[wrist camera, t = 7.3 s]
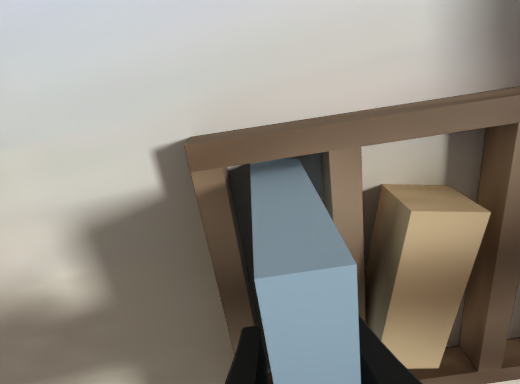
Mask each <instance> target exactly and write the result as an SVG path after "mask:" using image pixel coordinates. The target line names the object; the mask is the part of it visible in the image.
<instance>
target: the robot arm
mask: <svg viewBox="0 0 520 384" xmlns="http://www.w3.org/2000/svg"><path fill="white" fill-rule="evenodd" d="M358 316H359V344H360V372H361V384H423V383H422V382H420V381H419V380H418V379H417V378H416V377H415V376H414V375H413V374H412V373H411V372H410V371H409V370H408V369H407V368H406V367H405V366H404V365H403V364H402V363H401V362H400V361H399V360H398V359H397V358H396V357H395V356H394V354H393V353H392V352H391V351H390V350H389V349H388V348H387V347H386V346H385V345H384V344H383V343H382V341H381V340H380V339H379V338H378V337H377V336H376V334H375V333H374V332H373V331H372V330H371V329H370V327H369V326H368V325H367V324H366V322H365V321H364V320H363V318H362V317H361V316H360V314H359V313H358ZM225 384H269V383H268V372H267V362H266V357H265V352H264V347H263V341H262V336H261V331H260V326H259V325H257V326H250V327H244V328H243V329H242V330H241V334H240V338H239V342H238V346H237V350H236V353H235V356H234V359H233V362H232V365H231V368H230V371H229V373H228V376H227V379H226V382H225Z"/></svg>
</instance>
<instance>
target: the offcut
mask: <svg viewBox="0 0 520 384" xmlns="http://www.w3.org/2000/svg"><path fill="white" fill-rule="evenodd" d="M490 214H491V212H490V211H488V210H487V209H485V208H483V207H482V206H480V205H479V204H477V203H475V202H474V201H472V200H470V199H469V198H467V197H466V196H464V195H462V194H461V193H459V192H457V191H456V190H454V189H452V188H451V187H449V186H448V185H394V184H382V186H381V192H380V197H379V202H378V208H377V213H376V218H375V224H374V229H373V234H372V240H371V245H370V251H369V256H368V261H367V267H366V272H365V277H364V280H365V320H366V324H367V325H368V326H369V327H370V329H371V330H372V331H373V332H374V333H375V334H376V336H377V337H378V338H379V339H380V340H381V341H382V343H383V344H384V345H385V346H386V347H387V348H388V349H389V350H390V351H391V352H392V353H393V354H394V356H395V357H396V358H397V359H398V360H399V361H400V362H401V363H402V364H403V365H404V366H405V367H406V368H407V369H415V368H439V366H440V363H441V360H442V357H443V354H444V351H445V348H446V345H447V342H448V339H449V336H450V333H451V330H452V327H453V324H454V321H455V318H456V315H457V312H458V309H459V306H460V303H461V300H462V297H463V294H464V291H465V288H466V285H467V282H468V280H469V277H470V274H471V271H472V268H473V265H474V262H475V259H476V256H477V253H478V250H479V247H480V244H481V241H482V238H483V235H484V232H485V229H486V226H487V223H488V220H489V217H490Z"/></svg>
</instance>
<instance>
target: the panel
mask: <svg viewBox="0 0 520 384" xmlns="http://www.w3.org/2000/svg"><path fill="white" fill-rule="evenodd" d="M250 178H251V206H252V233H253V260H254V281H255V286H256V292H257V297H258V302H259V308H260V313H261V318H262V324H263V329H264V335H265V340H266V345H267V351H268V356H269V361H270V367H271V372H272V378H273V383H274V384H361V372H360V344H359V316H358V288H357V264H356V262H355V260H354V259H353V257H352V255H351V253H350V251H349V249H348V248H347V246H346V244H345V242H344V240H343V239H342V237H341V235H340V233H339V231H338V229H337V228H336V226H335V224H334V222H333V220H332V219H331V217H330V215H329V213H328V211H327V209H326V208H325V206H324V204H323V202H322V200H321V199H320V197H319V195H318V193H317V191H316V189H315V188H314V186H313V184H312V182H311V180H310V179H309V177H308V175H307V173H306V171H305V169H304V168H303V166H302V164H301V162H300V160H299V159H298V157H297V156H295V157H289V158H282V159H275V160H269V161H262V162H256V163H250Z"/></svg>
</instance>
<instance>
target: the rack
mask: <svg viewBox="0 0 520 384" xmlns="http://www.w3.org/2000/svg"><path fill="white" fill-rule="evenodd" d="M486 127H487V128H486ZM480 128H486V136H485V144H484V152H483V160H482V168H481V176H480V184H479V192H478V199H477V204H479V205H480V206H482V207H483V208H485V209H487V210H488V211H490V212H491V214H490V217H489V220H488V223H487V226H486V229H485V232H484V235H483V238H482V241H481V244H480V247H479V250H478V253H477V256H476V259H475V262H474V265H473V268H472V271H471V274H470V277H469V280H468V282H467V287H466V295H465V303H464V311H463V319H462V327H461V335H460V343H459V347H452V348H445V351H444V354H443V357H442V360H441V363H440V366H439V368H415V369H408V370H409V371H410V372H411V373H412V374H413V375H414V376H415V377H416V378H417V379H418V380H419V381H420V382H422V383H423V384H487V383H495V382H502V381H509V380H517V379H520V338H516V339H509V340H507V338H508V333H509V328H510V323H511V318H512V313H513V308H514V303H515V298H516V293H517V288H518V283H519V278H520V86H519V87H513V88H506V89H500V90H493V91H487V92H480V93H474V94H467V95H461V96H454V97H448V98H441V99H435V100H428V101H422V102H415V103H409V104H402V105H396V106H389V107H383V108H376V109H370V110H363V111H357V112H350V113H344V114H337V115H331V116H324V117H318V118H311V119H305V120H298V121H292V122H285V123H279V124H272V125H266V126H259V127H253V128H246V129H240V130H233V131H227V132H220V133H214V134H207V135H201V136H194V137H191V138H190V139H189V141H188V142H187V143H186V145H185V146H184V147H185V152H186V156H187V160H188V164H189V168H190V172H191V176H192V181H193V185H194V189H195V193H196V197H197V201H198V205H199V210H200V214H201V218H202V222H203V226H204V230H205V234H206V239H207V243H208V247H209V251H210V255H211V259H212V263H213V268H214V272H215V276H216V280H217V284H218V288H219V292H220V297H221V301H222V305H223V309H224V313H225V317H226V321H227V326H228V330H229V334H230V338H231V342H232V346H233V350H234V355H235V353H236V350H237V346H238V342H239V338H240V334H241V330H242V329H243V328H244V327H250V326H257V325H258V324H257V319H256V313H255V308H254V303H253V298H252V293H251V288H250V283H249V277H248V272H247V267H246V262H245V257H244V252H243V246H242V241H241V236H240V231H239V226H238V221H237V215H236V210H235V205H234V200H233V195H232V190H231V184H230V179H229V174H228V169H227V167H229V166H236V165H243V164H249V163H256V162H262V161H269V160H275V159H282V158H289V157H295V156H302V155H308V154H315V153H321V166H322V179H323V192H324V205H325V208H326V209H327V211H328V213H329V215H330V217H331V219H332V220H333V222H334V224H335V226H336V228H337V229H338V231H339V233H340V235H341V237H342V239H343V240H344V242H345V244H346V246H347V248H348V249H349V251H350V253H351V255H352V257H353V259H354V260H355V262H356V264H357V288H358V313H359V314H360V316H361V317H362V318H363V320H364V321H365V322H366V320H365V280H364V240H363V200H362V160H361V146H368V145H374V144H381V143H388V142H394V141H401V140H407V139H414V138H421V137H427V136H434V135H440V134H447V133H454V132H460V131H467V130H473V129H480ZM268 383H269V384H274V383H273V378H272V373H268Z"/></svg>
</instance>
